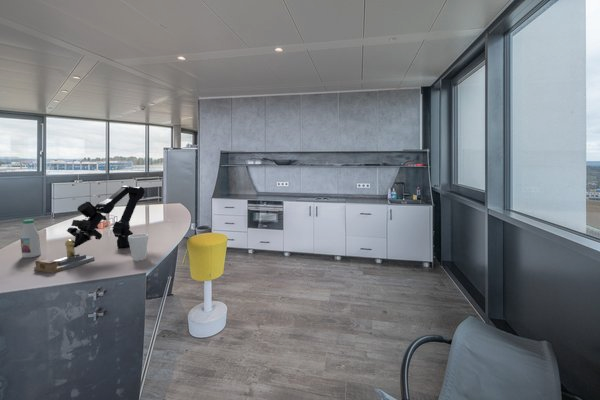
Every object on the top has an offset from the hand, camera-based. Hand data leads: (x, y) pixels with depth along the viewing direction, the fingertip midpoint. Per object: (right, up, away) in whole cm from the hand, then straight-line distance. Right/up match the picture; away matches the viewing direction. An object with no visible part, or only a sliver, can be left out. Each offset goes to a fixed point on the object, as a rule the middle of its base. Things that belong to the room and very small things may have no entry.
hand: (74, 247), depth 157 cm
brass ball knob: (-1, -7, -4) cm, 8 cm away
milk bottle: (-30, -6, +9) cm, 32 cm away
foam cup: (+30, -8, +7) cm, 32 cm away
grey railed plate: (-2, -8, -3) cm, 9 cm away
